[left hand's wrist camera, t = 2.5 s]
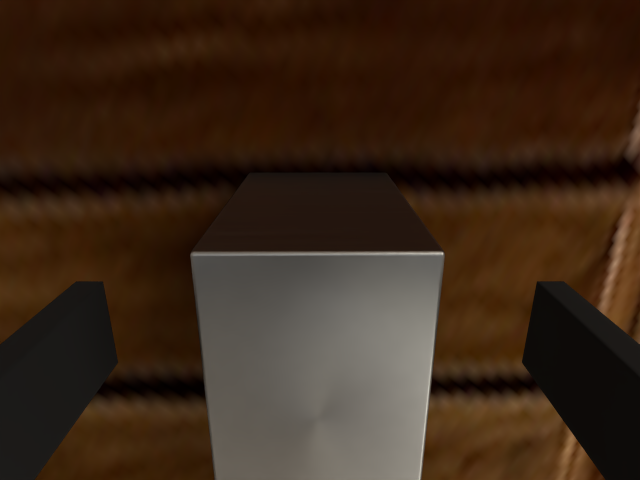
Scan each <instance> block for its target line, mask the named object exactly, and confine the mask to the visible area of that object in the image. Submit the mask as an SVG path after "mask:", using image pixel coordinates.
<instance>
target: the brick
mask: <svg viewBox="0 0 640 480" xmlns="http://www.w3.org/2000/svg"><path fill="white" fill-rule="evenodd" d="M190 257H191V267H192V276H193V285H194V294H195V303H196V312H197V322H198V331H199V340H200V349H201V358H202V368H203V377H204V386H205V395H206V404H207V413H208V423H209V432H210V441H211V450H212V459H213V468H214V478H215V480H421V477H422V467H423V457H424V448H425V438H426V429H427V419H428V410H429V400H430V391H431V381H432V371H433V362H434V352H435V343H436V333H437V324H438V314H439V305H440V295H441V285H442V276H443V266H444V257H445V253H444V251H443V250H442V248H441V247H440V245H439V244H438V243H437V241H436V240H435V239H434V237H433V236H432V235H431V233H430V232H429V230H428V229H427V228H426V226H425V225H424V224H423V222H422V221H421V219H420V218H419V217H418V215H417V214H416V213H415V211H414V210H413V209H412V207H411V206H410V204H409V203H408V202H407V200H406V199H405V198H404V196H403V195H402V194H401V192H400V191H399V189H398V188H397V187H396V185H395V184H394V183H393V181H392V180H391V178H390V177H389V176H388V174H387V173H249V174H248V176H247V177H246V178H245V180H244V181H243V182H242V184H241V185H240V186H239V188H238V189H237V191H236V192H235V193H234V195H233V196H232V197H231V199H230V200H229V201H228V203H227V204H226V205H225V207H224V208H223V209H222V211H221V212H220V213H219V215H218V216H217V217H216V219H215V220H214V222H213V223H212V224H211V226H210V227H209V228H208V230H207V231H206V232H205V234H204V235H203V236H202V238H201V239H200V240H199V242H198V243H197V244H196V246H195V247H194V248H193V250H192V251H191V254H190Z"/></svg>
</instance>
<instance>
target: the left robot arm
mask: <svg viewBox="0 0 640 480" xmlns="http://www.w3.org/2000/svg"><path fill="white" fill-rule="evenodd" d="M117 363H118V360H117V354H116V349H115V344H114V338H113V333H112V328H111V322H110V317H109V312H108V306H107V301H106V296H105V290H104V285H103V282H75V283H74V284H73V285H71V286H70V287H69V288H68V289H67V290H65V291H64V292H63V293H62V294H61V295H59V296H58V297H57V298H56V299H55V300H53V301H52V302H51V303H50V304H49V305H47V306H46V307H45V308H44V309H43V310H41V311H40V312H39V313H38V314H37V315H35V316H34V317H33V318H32V319H31V320H29V321H28V322H27V323H26V324H24V325H23V326H22V327H21V328H20V329H18V330H17V331H16V332H15V333H14V334H12V335H11V336H10V337H9V338H8V339H6V340H5V341H4V342H3V343H2V344H0V480H35V478H36V477H37V475H38V474H39V473H40V471H41V470H42V468H43V467H44V466H45V464H46V463H47V461H48V460H49V458H50V457H51V456H52V454H53V453H54V451H55V450H56V449H57V447H58V446H59V444H60V443H61V442H62V440H63V439H64V437H65V436H66V435H67V433H68V432H69V430H70V429H71V428H72V426H73V425H74V423H75V422H76V421H77V419H78V418H79V416H80V415H81V414H82V412H83V411H84V409H85V408H86V407H87V405H88V404H89V402H90V401H91V400H92V398H93V397H94V395H95V394H96V393H97V391H98V390H99V388H100V387H101V386H102V384H103V383H104V381H105V380H106V379H107V377H108V376H109V374H110V373H111V372H112V370H113V369H114V367H115V366H116V365H117ZM522 363H523V365H524V366H525V367H526V369H527V370H528V372H529V373H530V374H531V376H532V377H533V379H534V380H535V381H536V383H537V384H538V386H539V387H540V388H541V390H542V391H543V393H544V394H545V395H546V397H547V398H548V400H549V401H550V402H551V404H552V405H553V407H554V408H555V409H556V411H557V412H558V414H559V415H560V416H561V418H562V419H563V421H564V422H565V423H566V425H567V426H568V428H569V429H570V430H571V432H572V433H573V435H574V436H575V437H576V439H577V440H578V442H579V443H580V444H581V446H582V447H583V449H584V450H585V452H586V453H587V454H588V456H589V457H590V459H591V460H592V461H593V463H594V464H595V466H596V467H597V468H598V470H599V471H600V473H601V474H602V475H603V477H604V478H605V480H640V344H638V343H637V342H636V341H635V340H634V339H632V338H631V337H630V336H629V335H628V334H626V333H625V332H624V331H623V330H622V329H620V328H619V327H618V326H617V325H616V324H614V323H613V322H612V321H611V320H609V319H608V318H607V317H606V316H605V315H603V314H602V313H601V312H600V311H599V310H597V309H596V308H595V307H594V306H593V305H591V304H590V303H589V302H588V301H587V300H585V299H584V298H583V297H582V296H581V295H579V294H578V293H577V292H576V291H575V290H573V289H572V288H571V287H570V286H569V285H567V284H566V283H565V282H537V285H536V290H535V295H534V301H533V306H532V311H531V317H530V322H529V327H528V333H527V338H526V343H525V349H524V354H523V359H522Z"/></svg>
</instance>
